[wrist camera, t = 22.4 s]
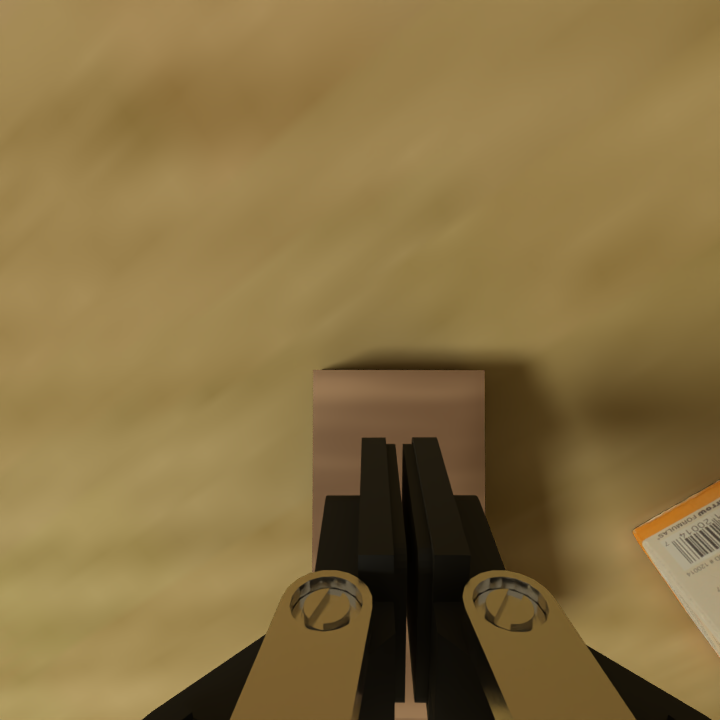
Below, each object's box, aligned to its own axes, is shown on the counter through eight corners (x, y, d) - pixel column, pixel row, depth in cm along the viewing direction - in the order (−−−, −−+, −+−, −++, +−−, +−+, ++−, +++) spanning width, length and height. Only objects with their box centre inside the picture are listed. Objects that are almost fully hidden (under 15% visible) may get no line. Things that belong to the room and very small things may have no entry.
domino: (313, 369, 15) (311, 717, 15) (484, 370, 15) (485, 719, 15) (319, 369, 17) (318, 675, 17) (470, 370, 17) (471, 676, 17)
